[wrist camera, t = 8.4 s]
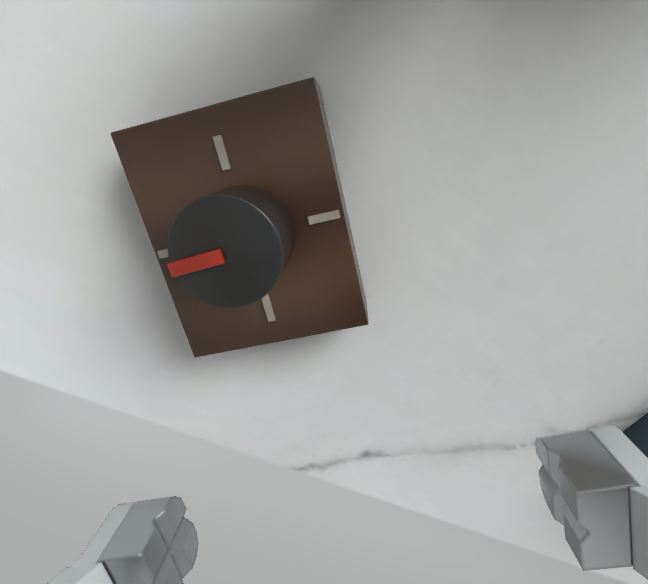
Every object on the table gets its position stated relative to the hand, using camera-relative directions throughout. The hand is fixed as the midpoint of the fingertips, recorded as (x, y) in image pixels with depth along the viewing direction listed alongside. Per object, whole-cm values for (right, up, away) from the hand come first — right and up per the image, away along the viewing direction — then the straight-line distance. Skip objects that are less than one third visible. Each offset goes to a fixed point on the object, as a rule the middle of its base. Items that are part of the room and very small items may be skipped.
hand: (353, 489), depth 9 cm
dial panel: (-4, +8, +12) cm, 15 cm away
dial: (-4, +7, +9) cm, 13 cm away
